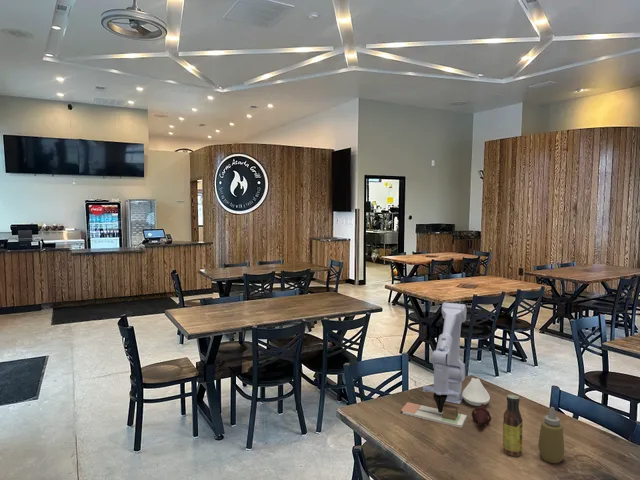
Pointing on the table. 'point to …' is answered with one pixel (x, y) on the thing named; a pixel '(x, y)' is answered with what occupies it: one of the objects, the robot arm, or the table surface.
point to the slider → (450, 411)
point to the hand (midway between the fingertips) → (440, 411)
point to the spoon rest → (475, 393)
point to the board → (432, 414)
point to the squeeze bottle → (551, 438)
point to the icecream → (481, 415)
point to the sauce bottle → (512, 427)
